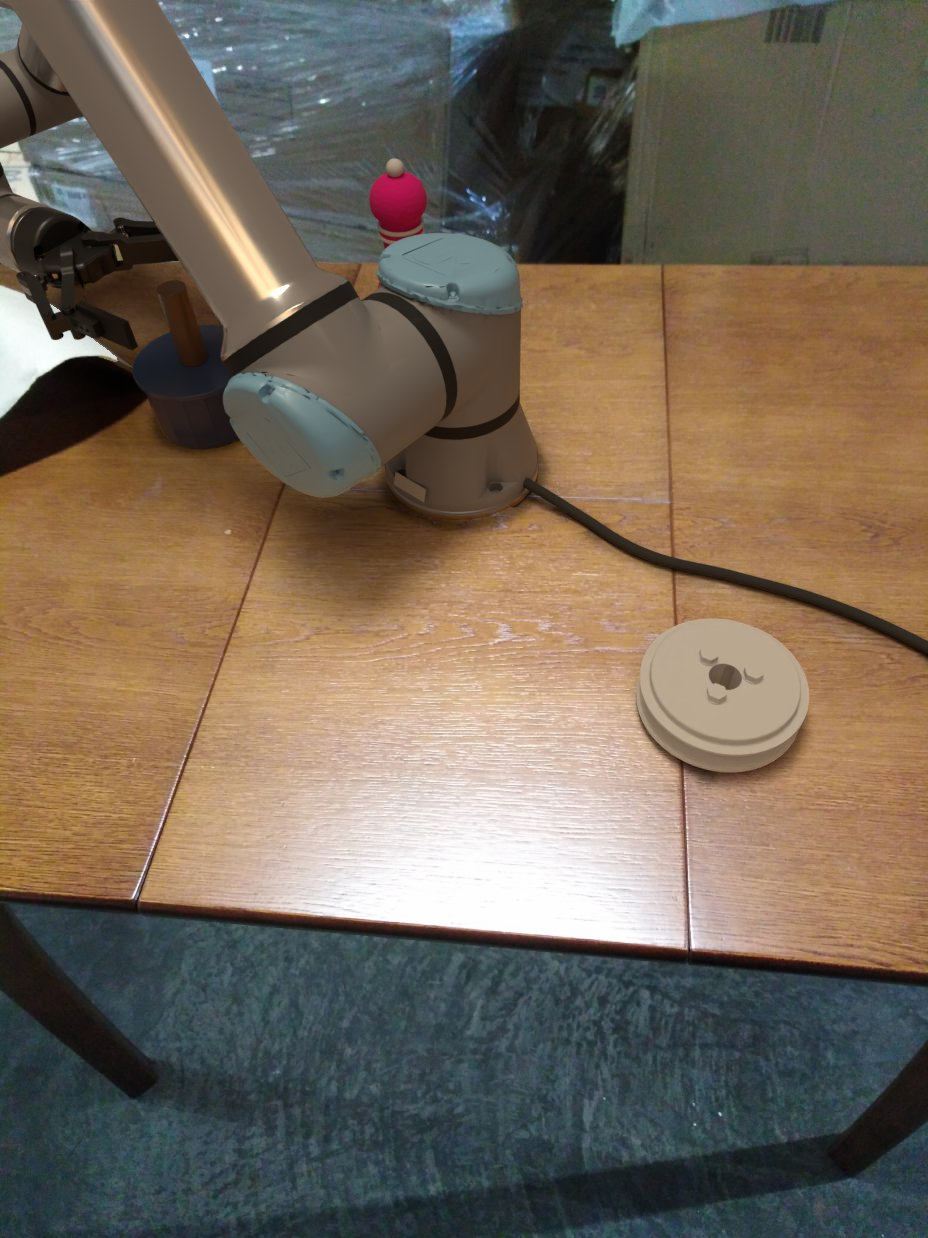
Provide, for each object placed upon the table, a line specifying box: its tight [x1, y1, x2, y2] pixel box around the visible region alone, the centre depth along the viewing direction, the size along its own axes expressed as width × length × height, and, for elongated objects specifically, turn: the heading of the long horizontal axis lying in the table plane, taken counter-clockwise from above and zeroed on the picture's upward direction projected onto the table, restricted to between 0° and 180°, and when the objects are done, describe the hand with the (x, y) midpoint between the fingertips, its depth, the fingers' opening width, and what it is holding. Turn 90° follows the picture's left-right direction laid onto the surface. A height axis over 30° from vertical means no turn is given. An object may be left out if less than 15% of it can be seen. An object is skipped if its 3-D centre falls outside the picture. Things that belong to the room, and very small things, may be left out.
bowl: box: [145, 392, 240, 450], centre depth 95 cm, size 11×11×6 cm
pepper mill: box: [368, 158, 428, 290], centre depth 98 cm, size 7×7×20 cm
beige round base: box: [635, 617, 810, 773], centre depth 69 cm, size 13×13×5 cm
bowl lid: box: [131, 279, 232, 402], centre depth 89 cm, size 13×13×9 cm
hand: (184, 301), depth 86 cm, fingers open, 13 cm apart
